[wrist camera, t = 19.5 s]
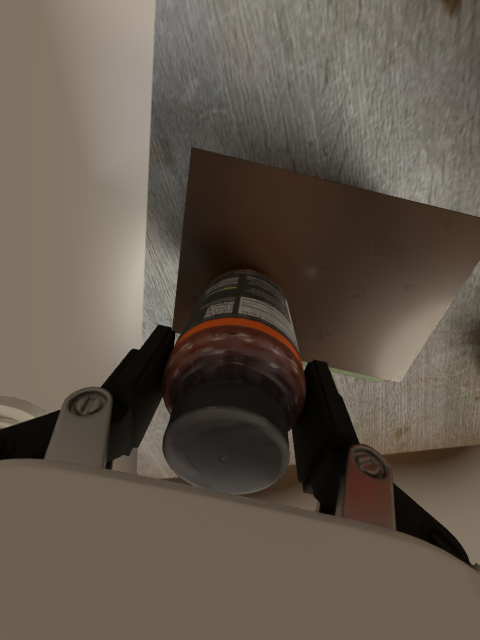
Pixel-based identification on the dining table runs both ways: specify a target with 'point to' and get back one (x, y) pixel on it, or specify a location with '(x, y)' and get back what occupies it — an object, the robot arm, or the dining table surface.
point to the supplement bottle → (234, 387)
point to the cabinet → (327, 259)
